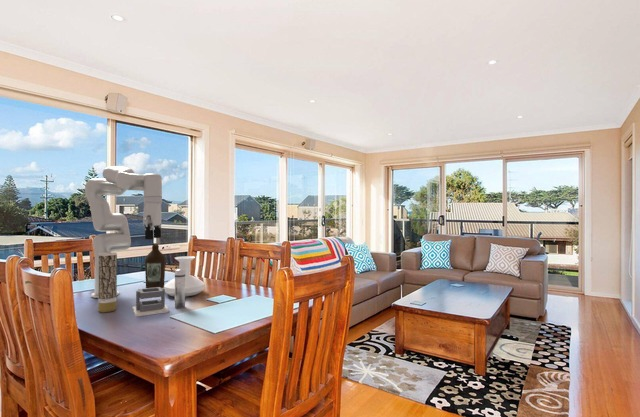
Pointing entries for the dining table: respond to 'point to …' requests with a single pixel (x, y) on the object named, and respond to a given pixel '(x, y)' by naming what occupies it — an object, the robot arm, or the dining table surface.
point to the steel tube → (179, 288)
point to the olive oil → (155, 268)
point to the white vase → (186, 279)
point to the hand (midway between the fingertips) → (153, 238)
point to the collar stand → (150, 302)
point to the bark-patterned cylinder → (107, 282)
